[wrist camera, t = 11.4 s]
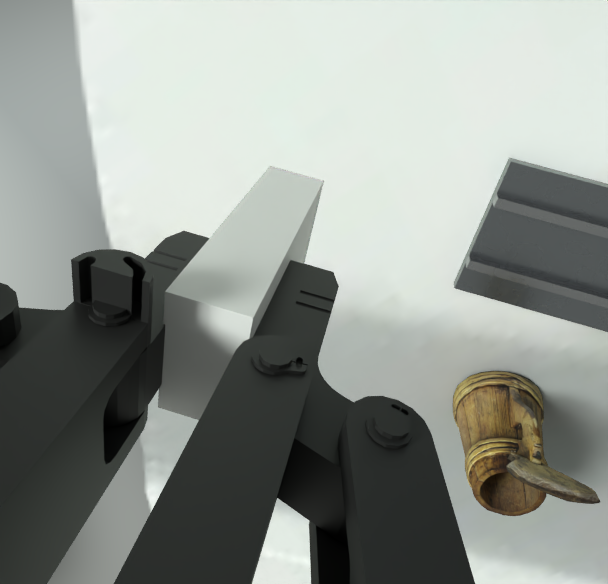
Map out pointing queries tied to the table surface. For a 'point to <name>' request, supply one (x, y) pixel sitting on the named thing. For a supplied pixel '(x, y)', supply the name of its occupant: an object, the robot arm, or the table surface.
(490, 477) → the wooden mug
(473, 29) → the table surface
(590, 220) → the dark grey base rail
